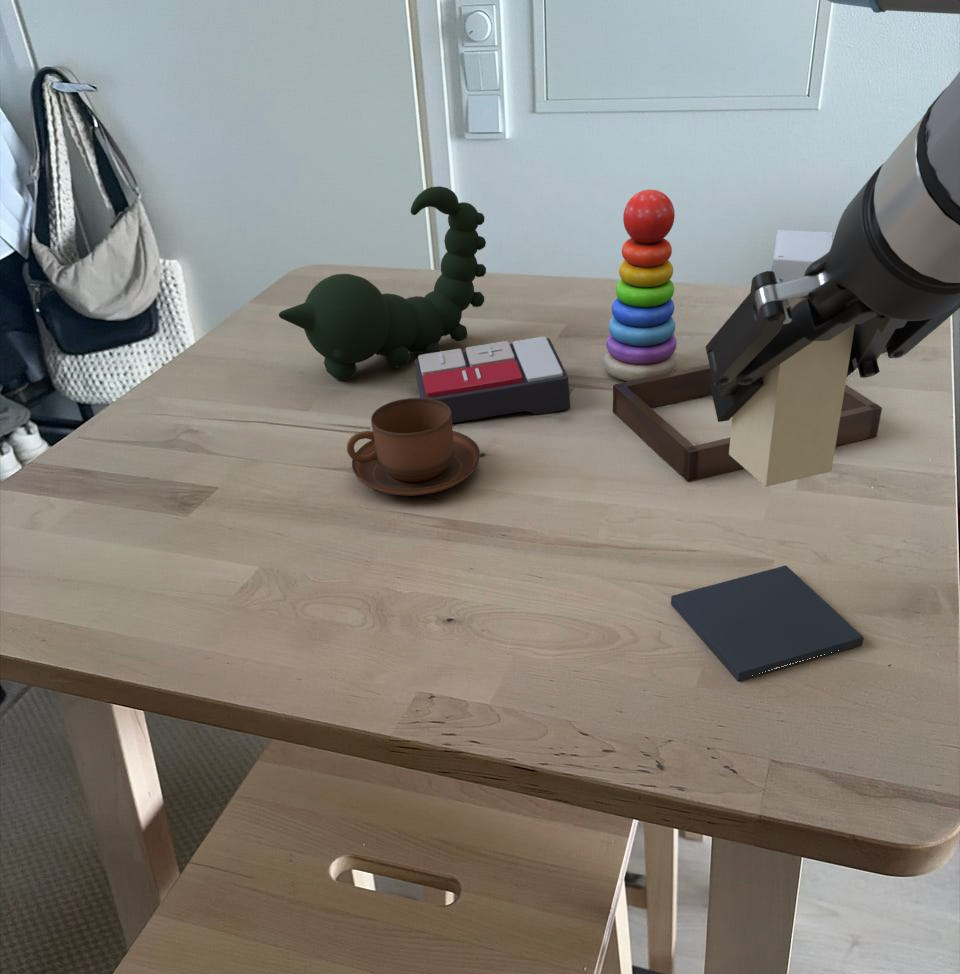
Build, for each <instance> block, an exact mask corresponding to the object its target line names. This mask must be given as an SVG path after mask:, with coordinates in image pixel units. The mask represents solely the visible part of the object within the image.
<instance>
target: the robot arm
mask: <svg viewBox="0 0 960 974" xmlns="http://www.w3.org/2000/svg"><path fill="white" fill-rule="evenodd" d="M827 2H830V3H833V4H836V5H837V4H838V5H846V6H851V7H852V6H853V7H860V8H861V7H862V8H868V9H869V8H870V9H871V10H872V11H873V13H875V14H877V13H878V14H879V13H885V12H887V11H890V12H909V13H911V12H912V13H928V14H930V13H931V14H949V15H960V0H827ZM749 291H750V292H749V294H748V295H747V296H746V297H745V298H744V299H745V300H744V299H743V300H744V301H743V300H742V302H741V303H740V304H739V305H738V307H737V308H736V309H735V310H734V311H733V313H732V314H731V315H730V316H729V317H728V318H727V319H726V321H725V322H724V323H723V325H722V326H721V327H720V328H719V329H718V331H717V332H716V333H715V334H714V336H713V337H712V338H711V339H710V340H709V342H708V343H707V344H706V345H705V351H706V355H707V360H708V364H709V365H710V369H711V373H712V378H713V382H712V383H711V384H710V389H711V393H712V395H711V396H712V401H713V405H714V410H715V415H716V419H717V422H718V423H723V422H729V420H730V419H732V416H733V415H734V414H735V413H736V412H737V411H738V410H739V409H740V408H741V407H742V406H743V405H744V404H745V403H746V402H747V401H748V400H749V399H750V398H751V397H752V396H753V395H754V394H755V393H756V392H757V391H758V390H759V389H760V388H761V387H762V386H763V385H764V384H763V379H762V376H763V375H765V374H766V373H768V372H769V371H770V370H772V369H773V368H775V367H776V366H778V365H779V364H781V363H782V362H784V361H785V360H787V359H788V358H790V357H791V356H793V355H794V354H796V353H797V352H799V351H800V350H802V349H803V348H805V347H806V346H807V345H809V344H810V343H812V342H813V341H829V340H831V339H832V338H834V337H835V336H837V335H838V334H840V333H841V332H843V331H844V330H846V329H847V328H849V327H850V326H852V325H853V324H855V329H854V335H853V341H852V347H851V353H850V359H849V366H848V372H847V378H848V377H849V376H851V374H852V373H854V372H855V371H856V370H858V374H859V378H861V379H867V378H870V377H873V376H876V375H878V374H879V373H880V368H879V364H878V359H879V357H880V356H881V355H882V354H886V353H887V357H888V359H900V358H902V357H903V356H905V355H906V354H908V353H909V352H910V351H911V350H913V349H914V348H916V346H917V345H918V344H920V343H921V342H922V341H923V340H924V339H926V338H927V337H928V336H929V335H930V334H931V333H933V332H934V331H935V330H936V329H937V328H939V327H940V326H941V325H942V324H943V323H944V322H945V321H946V320H948V319H949V318H950V317H951V316H952V315H954V314H955V313H956V312H957V311H958V310H959V309H960V71H958V73H957V74H956V75H955V76H954V78H953V79H952V81H951V82H950V83H949V84H948V86H947V87H945V89H943V90H942V91H941V93H940V94H939V95H938V96H937V97H936V98H935V100H934V101H933V102H932V103H931V104H930V105H929V107H928V108H927V110H926V112H925V113H924V115H923V116H922V117H921V118H920V119H919V120H918V122H917V123H916V124H915V125H914V127H913V128H912V129H911V130H910V131H909V133H908V134H907V135H906V136H905V137H904V138H903V140H901V142H899V144H898V145H897V146H896V148H895V149H894V150H893V151H892V152H891V154H890V155H889V157H888V158H887V159H886V160H885V161H884V163H882V164H881V165H880V166H879V167H878V168H877V169H876V170H875V171H874V172H873V174H872V175H871V176H870V177H869V179H868V180H867V181H866V183H865V184H863V186H862V187H861V189H860V190H859V191H858V192H857V193H856V194H855V196H854V197H853V198H852V199H851V200H850V202H849V203H848V204H847V205H846V208H845V209H844V210H843V212H842V214H841V216H840V218H839V222H838V224H837V227H836V230H835V233H834V235H833V243H832V246H831V249H830V251H829V252H828V253H827V254H825V255H824V256H822V257H821V258H819V259H818V260H816V261H814V262H813V263H812V264H810V265H809V266H808V268H807V269H806V271H805V274H804V277H800V278H797V279H793V280H789V281H785V282H783V279H781V278H778V279H776V276H775V273H774V272H773V271H771V270H766V271H762V272H760V273H758V274H755V275H754V276H753V277H752V279H751V284H750V290H749Z"/></svg>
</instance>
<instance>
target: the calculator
mask: <svg viewBox="0 0 960 974" xmlns="http://www.w3.org/2000/svg"><path fill="white" fill-rule="evenodd" d="M413 363H414V370H415V375H416V381H417V387H418V391H419V396H420V397H419V398H429V399H434V400H438V401H441V402H443V403H445V404H446V405H447V406H448V407H449V408H450V410H451V415H452V424H454V423H460V422H467V421H473V420H478V419H486V418H491V417H497V416H504V415H509V414H510V415H511V414H514V413H516V414H517V413H521V412H528V413H530V414H533V415H542V414H548V413H555V412H560V411H566V410H569V409H570V408H571V399H570V398H571V397H570V396H571V395H570V382H569V375H568V373H567V371H566V369H565V367H564V365H563V362H562V360H561V359H560V356H559V355H558V353H557V351H556V349H555V346H554V345H553V343H552V341H551V339H550V338H549V337H546V336H537V337H533V338H526V339H520V340H514V341H512V343H510V342H509V341H508V340H503V341H497V342H490V343H485V344H478V345H472V346H468V347H465V350H463V351H462V348H453V349H448V350H440V352H435V353H429V354H423V353H422V354H419V355H418V356H417V358H416V359H414V362H413Z"/></svg>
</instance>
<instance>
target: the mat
mask: <svg viewBox="0 0 960 974" xmlns="http://www.w3.org/2000/svg"><path fill="white" fill-rule="evenodd" d="M670 605H671V606H672V607H673V608H674V610H675V611H676V612H677V613H678V614H679V615H680V616H681V618H682V619H683V620H684V621H685V622H686V623H687V625H688V626H689V627H690V628H691V629H692V630H693V631H694V633H695V634H696V635H697V636H698V637H699V638H700V639H701V641H702V642H703V643H704V644H705V645H706V647H707V648H709V650H710V651H711V652H712V653H713V654H714V655H715V656H716V658H717V659H718V660H719V661H720V663H721V664H722V665H723V666H724V667H725V668H726V670H728V672H729V673H730V674H731V675H732V676H733V677H734V678H735V680H736V681H737V682H741V681H745V680H748V679H751V678H754V677H755V678H756V677H758V676H762V675H765V674H768V673H771V672H775V671H780V670H783V669H786V668H789V667H792V666H796V665H799V664H800V665H801V664H803V663H807V662H811V661H814V660H816V659H821V658H824V657H827V656H830V655H831V656H832V655H833V654H834V655H835V654H838V653H841V652H844V651H848V650H851V649H854V648H858V647H861V646H863V642H864V636H863V635H862V634H861V633H860V632H859V631H858V630H857V629H856V628H855V627H854V626H853V625H851V623H849V621H847V620H846V619H845V618H844V617H843V616H842V615H841V614H840V613H838V612H837V611H836V610H835V609H834V608H833V607H832V606H831V605H830V604H829V603H828V602H826V601H825V600H824V599H823V598H822V597H821V596H820V595H819V594H818V593H817V592H816V591H815V590H813V589H812V587H810V586H809V585H808V584H807V583H806V582H805V581H804V580H803V579H801V577H799V575H797V574H796V573H795V572H794V571H793V570H792V569H791V568H790V567H788V565H781V566H778V567H775V568H770V569H767V570H763V571H760V572H756V573H752V574H748V575H744V576H740V577H737V578H733V579H730V580H725V581H722V582H718V583H714V584H710V585H707V586H703V587H699V588H695V589H692V590H688V591H685V592H684V591H683V592H680V593H676V594H673V595H671V596H670ZM838 650H839V651H838ZM831 652H832V653H831ZM824 654H825V655H824ZM820 655H822V656H820ZM817 656H818V657H817ZM813 657H815V658H813ZM809 658H811V659H809ZM807 659H808V660H807ZM802 660H804V661H802ZM797 661H798V662H797ZM799 661H801V662H799ZM795 662H797V663H795ZM790 663H791V665H789V664H790ZM792 663H794V664H792ZM787 664H788V665H787ZM784 665H787V666H784ZM781 666H784V667H781ZM776 667H780V668H777V669H774V668H776ZM771 669H773V670H771ZM768 670H770V671H768ZM765 671H766V672H765ZM762 672H763V673H762ZM759 673H760V674H759ZM752 675H753V676H752Z"/></svg>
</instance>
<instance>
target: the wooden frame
mask: <svg viewBox="0 0 960 974" xmlns="http://www.w3.org/2000/svg"><path fill="white" fill-rule="evenodd" d="M712 382H713V378H712V373H711V369H710V365H709V363H708V364H703V365H699V366H695V367H689V368H684V369H679V370H676V371H675V370H674V371H673V372H670V373H665V374H661V375H656V376H651V377H646V378H642V379H637V380H632V381H623V382H619V383H614V384H612V413H613V414H614V415H615V416H616V417H618V418H619V420H621V421H622V422H623V423H624V424H625V425H626V426H627V427H628V428H629V429H631V430H632V432H634V433H635V434H636V435H637V436H638V437H639V438H640V439H641V440H642V441H643V442H645V443H646V444H647V445H648V447H649V448H651V449H652V450H653V451H654V453H656V454H657V455H658V456H659V457H660V458H661V459H663V460H664V461H665V462H666V464H667V465H669V467H671V468H672V469H673V470H674V471H675V472H676V473H678V474H679V475H680V476H681V477H682V478H683V479H684V480H685V481H686V482H688V483H689V482H692V481H696V480H700V479H705V478H708V477H709V478H710V477H713V476H717V475H722V474H726V473H731V472H734V471H738V470H742V469H745V468H744V467H743V466H741V465H740V464H739V463H738V462H737V461H736V460H735V459H733V458H732V457H731V456H730V455H729V447H730V437H726V438H721V439H717V440H713V441H712V440H711V441H708V442H703V443H700V444H695V445H694V444H693V443H692V442H691V441H689V439H687V438H686V437H685V436H684V435H683V434H681V432H679V430H677V429H675V427H673V426H672V425H671V423H669V422H668V421H667V420H665V419H664V418H663V417H662V416H661V415H660V414H659V413H657V412H656V411H655V410H654V409H653V408H658V407H662V406H667V405H671V404H676V403H680V402H686V401H690V400H694V399H699V398H703V397H708V396H712V393H711V389H710V384H711V383H712ZM882 411H883V407H882V406H881V405H879V404H877V403H876V402H875V401H873V400H871V399H869V398H868V397H866V396H865V395H863V394H861V393H860V392H858V391H857V390H855V389H853V388H852V387H851V386H849V385H848V384H845V390H844V396H843V403H842V409H841V415H840V421H839V427H838V433H837V440H836V446H835V447H838V446H842V445H847V444H852V443H856V442H859V441H863V440H868V439H869V440H870V439H872V438H877V437H878V432H879V427H880V423H881V422H880V421H881V416H882Z"/></svg>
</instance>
